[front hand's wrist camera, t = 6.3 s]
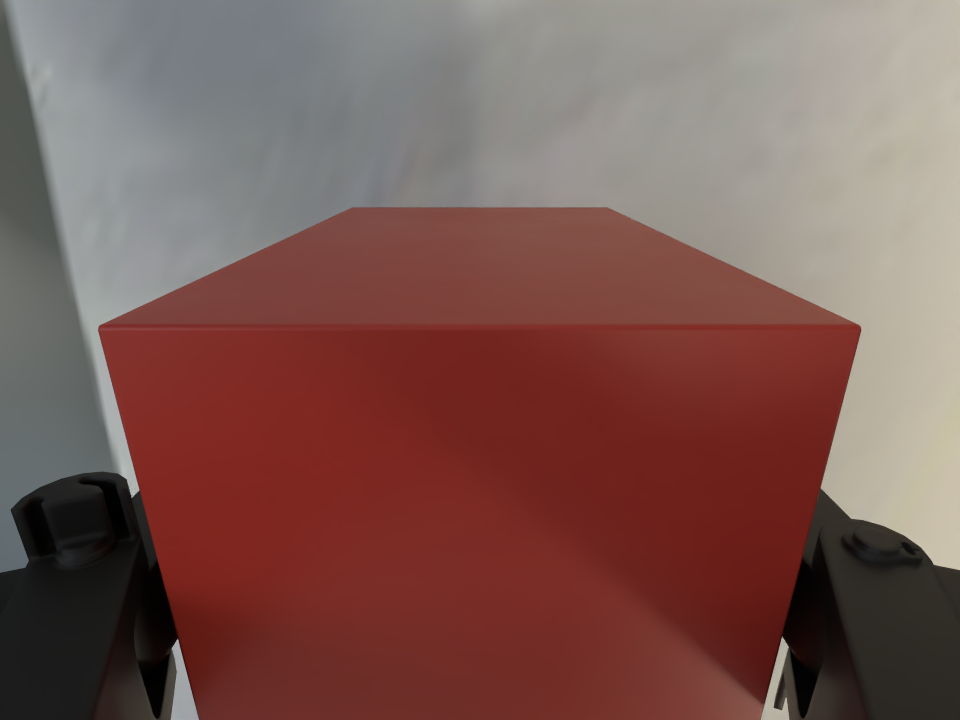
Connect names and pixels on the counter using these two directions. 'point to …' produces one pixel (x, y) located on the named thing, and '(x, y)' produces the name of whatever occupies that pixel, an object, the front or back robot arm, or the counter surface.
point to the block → (479, 468)
